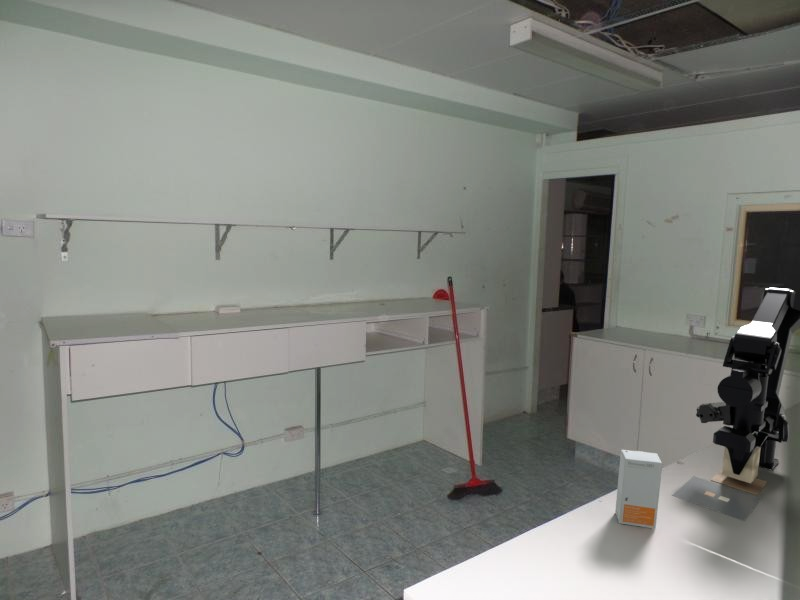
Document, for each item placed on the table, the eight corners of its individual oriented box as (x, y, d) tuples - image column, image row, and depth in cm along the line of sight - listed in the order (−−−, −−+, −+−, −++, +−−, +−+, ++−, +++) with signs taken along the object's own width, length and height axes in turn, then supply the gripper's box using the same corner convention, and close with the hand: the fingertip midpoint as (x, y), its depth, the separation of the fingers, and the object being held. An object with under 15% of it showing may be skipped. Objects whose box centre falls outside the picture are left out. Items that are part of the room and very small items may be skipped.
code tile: (693, 476, 109) (693, 475, 109) (762, 499, 101) (762, 497, 101) (671, 496, 101) (671, 495, 101) (744, 522, 92) (744, 520, 92)
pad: (722, 469, 113) (722, 468, 113) (767, 483, 107) (767, 481, 107) (710, 481, 107) (710, 479, 107) (756, 496, 102) (756, 494, 102)
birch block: (729, 467, 111) (732, 439, 110) (757, 475, 107) (760, 447, 106) (721, 474, 107) (724, 446, 106) (750, 483, 104) (753, 454, 103)
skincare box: (618, 524, 91) (624, 458, 89) (615, 512, 95) (619, 448, 93) (657, 530, 89) (663, 462, 88) (651, 516, 94) (657, 452, 92)
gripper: (717, 378, 117) (711, 445, 119) (687, 395, 104) (680, 470, 106) (778, 389, 109) (769, 461, 111) (753, 410, 96) (744, 490, 98)
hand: (740, 470), depth 107 cm, fingers closed on birch block, 5 cm apart
